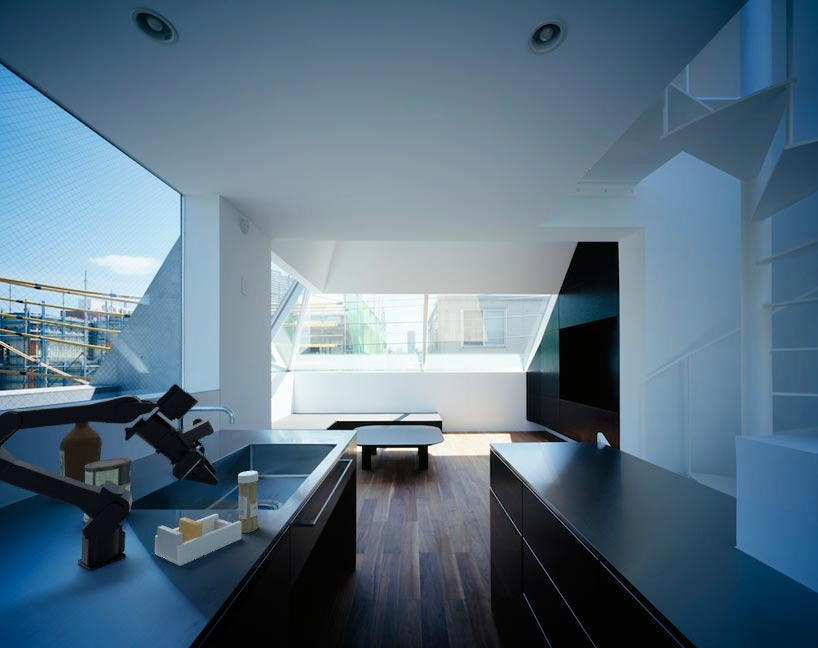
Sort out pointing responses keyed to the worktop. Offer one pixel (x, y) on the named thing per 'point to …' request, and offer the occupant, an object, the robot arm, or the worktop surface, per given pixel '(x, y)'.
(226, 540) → the tray
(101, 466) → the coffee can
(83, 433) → the olive oil
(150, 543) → the worktop surface
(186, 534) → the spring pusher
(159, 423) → the robot arm
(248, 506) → the sprinkles bottle
